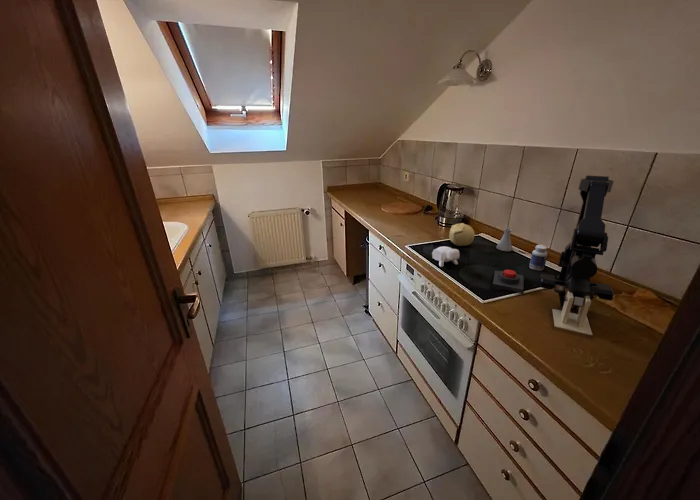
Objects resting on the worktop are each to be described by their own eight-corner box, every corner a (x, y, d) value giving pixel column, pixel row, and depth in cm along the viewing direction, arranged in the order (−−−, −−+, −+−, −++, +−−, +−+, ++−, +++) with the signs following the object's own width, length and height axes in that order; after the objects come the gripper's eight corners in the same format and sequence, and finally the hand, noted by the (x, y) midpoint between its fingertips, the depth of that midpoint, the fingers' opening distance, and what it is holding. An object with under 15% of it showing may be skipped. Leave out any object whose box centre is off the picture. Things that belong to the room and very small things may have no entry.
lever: (561, 304, 99) (563, 295, 99) (573, 306, 97) (575, 297, 97) (571, 305, 87) (572, 294, 87) (584, 308, 85) (586, 297, 86)
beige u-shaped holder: (551, 311, 97) (559, 284, 93) (585, 318, 93) (595, 291, 89) (554, 328, 89) (562, 300, 85) (591, 337, 85) (602, 308, 81)
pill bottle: (544, 272, 121) (549, 250, 118) (528, 269, 124) (533, 247, 120) (543, 266, 126) (548, 245, 122) (529, 264, 128) (533, 243, 124)
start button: (503, 272, 114) (504, 268, 114) (515, 274, 113) (516, 270, 112) (502, 277, 111) (503, 273, 110) (515, 279, 109) (515, 275, 109)
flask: (493, 249, 144) (497, 229, 140) (499, 244, 149) (502, 225, 145) (509, 253, 140) (513, 233, 136) (514, 248, 144) (518, 228, 141)
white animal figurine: (430, 266, 136) (448, 268, 121) (428, 247, 136) (446, 247, 121) (447, 263, 138) (466, 265, 123) (445, 245, 138) (464, 245, 123)
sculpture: (447, 239, 158) (449, 219, 154) (471, 240, 156) (473, 220, 151) (449, 247, 148) (451, 226, 143) (474, 248, 145) (478, 227, 141)
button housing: (494, 275, 120) (496, 266, 119) (522, 280, 116) (524, 271, 114) (491, 288, 111) (493, 279, 109) (522, 294, 106) (524, 285, 105)
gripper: (546, 270, 89) (535, 314, 95) (626, 283, 81) (609, 330, 87) (544, 257, 99) (534, 298, 104) (616, 267, 90) (601, 311, 96)
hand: (567, 309), depth 97 cm, fingers closed on lever, 3 cm apart
